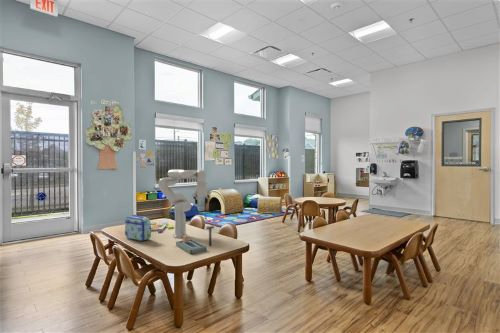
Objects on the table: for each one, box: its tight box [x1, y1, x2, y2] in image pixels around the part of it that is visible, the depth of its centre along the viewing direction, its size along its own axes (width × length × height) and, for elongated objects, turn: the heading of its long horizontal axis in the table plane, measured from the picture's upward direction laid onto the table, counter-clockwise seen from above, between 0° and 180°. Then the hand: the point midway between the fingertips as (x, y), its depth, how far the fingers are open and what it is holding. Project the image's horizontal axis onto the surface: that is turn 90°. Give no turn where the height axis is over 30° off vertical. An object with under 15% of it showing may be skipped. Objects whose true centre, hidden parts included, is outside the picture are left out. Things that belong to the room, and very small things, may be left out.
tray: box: [175, 238, 207, 255], centre depth 219 cm, size 26×13×4 cm, turn 38°
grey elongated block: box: [181, 234, 201, 249], centre depth 219 cm, size 21×8×7 cm, turn 38°
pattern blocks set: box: [150, 222, 174, 234], centre depth 281 cm, size 38×34×3 cm
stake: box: [206, 225, 215, 247], centre depth 226 cm, size 2×6×16 cm, turn 128°
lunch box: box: [124, 214, 152, 242], centre depth 244 cm, size 26×11×21 cm, turn 58°
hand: (201, 203), depth 242 cm, fingers open, 9 cm apart
